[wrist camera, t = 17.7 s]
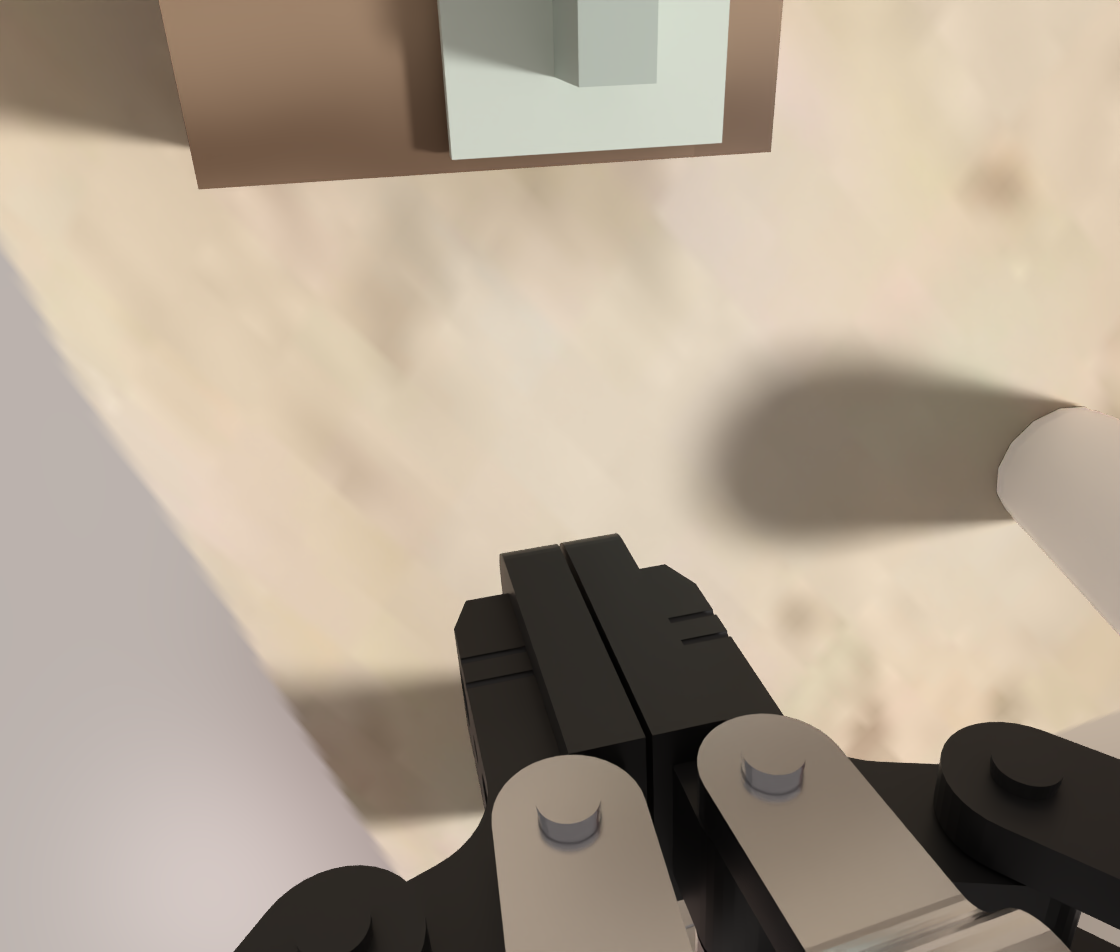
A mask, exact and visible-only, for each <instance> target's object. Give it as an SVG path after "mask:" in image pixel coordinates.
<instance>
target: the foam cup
mask: <svg viewBox="0 0 1120 952" xmlns="http://www.w3.org/2000/svg"><path fill="white" fill-rule="evenodd" d="M997 494H998V496H999V498H1000V500H1001V502H1002V504H1003V505H1004V507H1005V509H1006V510H1007V511H1008V512H1009V513H1010V514H1011V516H1012V518H1013V519H1014V520H1015V521H1016V522H1017V523H1018V524H1019V525H1020V527H1021V528H1022V529H1023V530H1024V531H1025V532H1026V533H1027V534H1028V535H1029V536H1030V537H1031V539H1032V540H1033V541H1034V542H1035V543H1036V544H1037V545H1038V546H1039V547H1040V548H1041V550H1042V551H1043V552H1044V553H1045V554H1046V555H1047V556H1048V557H1049V558H1050V559H1051V561H1052V562H1053V563H1054V564H1055V565H1056V566H1057V567H1058V568H1059V569H1060V570H1061V572H1062V573H1063V574H1064V575H1065V576H1066V577H1067V578H1068V579H1069V580H1070V581H1071V583H1072V584H1073V585H1074V586H1075V587H1076V588H1077V589H1078V590H1079V591H1080V592H1081V594H1082V595H1083V596H1084V597H1085V598H1086V599H1087V600H1088V601H1089V602H1090V603H1091V605H1092V606H1093V607H1094V608H1095V609H1096V610H1097V611H1098V612H1099V613H1100V614H1101V616H1102V617H1103V618H1104V619H1105V620H1106V621H1107V622H1108V623H1109V624H1110V625H1111V627H1112V628H1113V629H1114V630H1115V631H1116V632H1117V633H1118V634H1119V635H1120V419H1118V418H1115V417H1113V416H1110V415H1107V414H1105V413H1102V412H1099V411H1096V410H1093V411H1092V410H1090V409H1088V408H1087V407H1074V408H1060V409H1058V410H1056V411H1054V412H1052V413H1049V414H1047V415H1045V416H1043V417H1041V418H1039V419H1037V420H1035V421H1033V422H1032V423H1031V424H1030V425H1029V426H1028V427H1027V428H1026V429H1025V430H1024V431H1023V432H1022V433H1021V434H1020V435H1019V436H1018V437H1017V438H1016V439H1015V440H1014V441H1013V442H1012V443H1011V445H1010V447H1009V448H1008V450H1007V452H1006V454H1005V456H1004V458H1003V460H1002V462H1001V464H1000V466H999V468H998V478H997Z"/></svg>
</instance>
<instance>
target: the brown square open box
mask: <svg viewBox="0 0 1120 952" xmlns="http://www.w3.org/2000/svg"><path fill="white" fill-rule="evenodd" d="M158 1H159V5H160V10H161V15H162V19H163V24H164V29H165V33H166V38H167V43H168V47H169V52H170V57H171V62H172V66H173V71H174V76H175V80H176V85H177V90H178V94H179V99H180V104H181V108H182V113H183V118H184V123H185V127H186V132H187V137H188V141H189V146H190V151H191V155H192V160H193V165H194V170H195V174H196V179H197V184H198V188H199V189H210V188H226V187H241V186H256V185H271V184H287V183H302V182H317V181H333V180H348V179H363V178H378V177H394V176H409V175H424V174H439V173H455V172H470V171H485V170H501V169H516V168H531V167H546V166H562V165H577V164H592V163H608V162H623V161H638V160H653V159H669V158H684V157H699V156H715V155H730V154H745V153H760V152H771V142H772V129H773V117H774V105H775V92H776V80H777V68H778V56H779V43H780V31H781V19H782V7H783V0H730V9H729V27H728V45H727V62H726V80H725V98H724V115H723V133H722V143H712V144H696V145H681V146H665V147H649V148H633V149H617V150H601V151H585V152H569V153H554V154H538V155H522V156H506V157H490V158H474V159H458V160H452V159H451V158H450V152H449V140H448V128H447V115H446V103H445V91H444V79H443V66H442V54H441V42H440V30H439V17H438V5H437V0H158Z"/></svg>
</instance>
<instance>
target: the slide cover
mask: <svg viewBox="0 0 1120 952" xmlns="http://www.w3.org/2000/svg"><path fill="white" fill-rule="evenodd" d="M437 5H438V17H439V30H440V42H441V54H442V66H443V79H444V91H445V103H446V115H447V128H448V140H449V152H450V158H451V159H452V160H458V159H474V158H490V157H506V156H522V155H538V154H554V153H569V152H585V151H601V150H617V149H633V148H649V147H665V146H681V145H696V144H712V143H722V133H723V115H724V98H725V80H726V62H727V45H728V27H729V9H730V0H437Z"/></svg>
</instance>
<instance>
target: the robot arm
mask: <svg viewBox="0 0 1120 952" xmlns="http://www.w3.org/2000/svg"><path fill="white" fill-rule="evenodd" d="M500 574H501V583H502V592H503V594H501V595H496V596H490V597H485V598H479V599H474V600H468V601H466V602H465V604H464V607H463V609H462V611H461V614H460V616H459V619H458V621H457V623H456V626H455V628H454V632H455V639H456V646H457V653H458V660H459V667H460V675H461V682H462V689H463V696H464V703H465V710H466V717H467V724H468V730H469V734H470V739H471V744H472V749H473V754H474V758H475V764H476V769H477V774H478V779H479V784H480V788H481V794H482V798H483V803H484V808H485V812H484V815H483V817H482V819H481V821H480V824H479V826H478V827H477V829H476V830H475V832H474V833H473V834H472V836H471V837H470V838H469V839H468V840H467V842H466V843H465V844H464V845H463V846H462V847H461V848H460V849H459V850H457V851H456V852H455V853H454V854H452V855H451V856H450V857H449V858H447V859H445V860H444V861H442V862H441V863H439V864H438V865H436V866H434V867H432V868H431V869H429V870H427V871H425V872H423V873H421V874H420V875H418V876H416V877H414V878H412V879H411V880H409V881H407V882H406V881H405V880H404V879H402V878H401V877H400V876H398V875H396V874H394V873H392V872H390V871H388V870H385V869H381V868H377V867H372V866H363V865H359V866H345V867H339V868H334V869H331V870H327V871H324V872H321V873H318V874H316V875H314V876H313V877H310V878H308V879H306V880H304V881H302V882H301V883H299V884H298V885H296V886H294V887H293V888H292V889H290V890H289V891H288V892H287V893H285V894H284V895H283V896H282V897H280V898H279V899H278V900H277V901H276V902H275V903H274V905H272V906H271V908H270V909H269V910H268V911H267V912H266V913H265V914H264V916H263V917H262V918H261V919H260V920H259V922H258V923H257V924H256V925H255V927H254V928H253V929H252V930H251V931H250V933H249V934H248V935H247V936H246V937H245V939H244V940H243V941H242V942H241V943H240V945H239V946H238V947H237V948H236V949H235V951H234V952H1120V947H1117V946H1116V945H1114V944H1111V943H1109V942H1107V941H1105V940H1103V939H1101V938H1099V937H1097V936H1095V935H1093V934H1091V933H1089V932H1087V931H1084V930H1082V929H1080V928H1078V927H1077V925H1078V921H1079V918H1080V915H1081V912H1083V913H1085V914H1088V915H1090V916H1092V917H1094V918H1096V919H1098V920H1101V921H1103V922H1105V923H1107V924H1109V925H1111V926H1113V927H1115V928H1117V929H1120V759H1117V758H1114V757H1111V756H1109V755H1106V754H1104V753H1101V752H1098V751H1096V750H1093V749H1090V748H1088V747H1085V746H1082V745H1080V744H1077V743H1074V742H1072V741H1069V740H1066V739H1063V738H1061V737H1058V736H1056V735H1053V734H1050V733H1048V732H1045V731H1042V730H1039V729H1036V728H1033V727H1029V726H1025V725H1020V724H1015V723H1006V722H987V723H979V724H975V725H971V726H967V727H965V728H963V729H961V730H959V731H957V732H956V733H954V734H953V735H952V736H951V737H950V738H949V739H948V740H947V742H946V743H945V744H944V747H943V749H942V752H941V757H940V763H939V764H919V763H895V762H875V761H865V760H859V759H854V758H849V757H847V756H846V755H845V754H844V752H843V751H842V750H841V749H840V748H839V746H838V745H837V744H836V743H835V742H834V741H833V740H832V739H831V738H830V737H828V736H827V735H826V734H825V733H823V732H822V731H821V730H819V729H817V728H815V727H813V726H812V725H810V724H808V723H805V722H803V721H800V720H798V719H794V718H791V717H787V716H784V715H783V714H782V712H781V711H780V709H779V708H778V706H777V705H776V703H775V702H774V700H773V699H772V697H771V696H770V694H769V693H768V691H767V690H766V688H765V687H764V685H763V684H762V682H761V681H760V679H759V678H758V676H757V675H756V673H755V672H754V670H753V669H752V667H751V666H750V664H749V663H748V661H747V660H746V658H745V657H744V655H743V654H742V652H741V651H740V649H739V648H738V646H737V645H736V643H735V642H734V640H733V639H732V637H731V636H730V637H728V634H727V630H726V628H725V627H724V625H723V624H722V622H721V621H720V619H719V618H718V616H717V615H714V614H713V609H712V608H711V606H710V605H709V603H708V602H707V600H706V599H705V597H704V596H703V594H702V593H701V591H700V590H699V588H698V587H697V585H696V584H695V583H694V582H692V581H691V580H689V579H687V578H686V577H684V576H683V575H681V574H679V573H678V572H676V571H675V570H673V569H672V568H670V567H668V566H667V565H665V564H664V565H659V566H653V567H648V568H642V569H639V568H638V566H637V564H636V562H635V561H634V559H633V557H632V555H631V554H630V552H629V550H628V549H627V547H626V545H625V543H624V542H623V540H622V538H621V537H620V536H619V535H618V534H610V535H604V536H598V537H593V538H587V539H581V540H575V541H570V542H564V543H561V544H560V546H558V545H557V544H554V545H548V546H542V547H537V548H531V549H525V550H519V551H514V552H508V553H502V554H500Z"/></svg>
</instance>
